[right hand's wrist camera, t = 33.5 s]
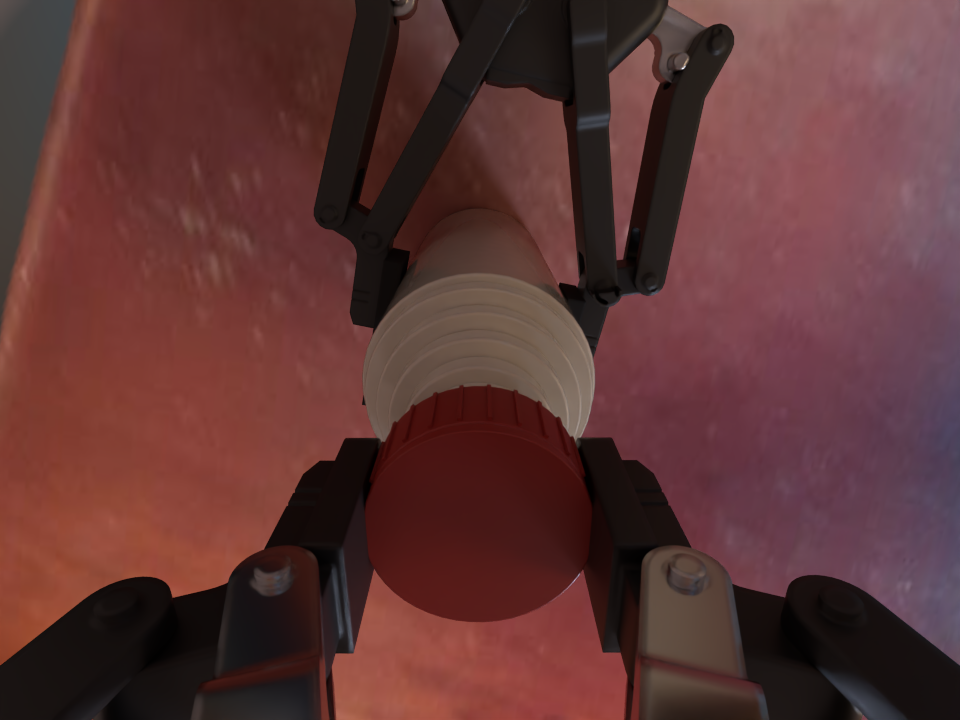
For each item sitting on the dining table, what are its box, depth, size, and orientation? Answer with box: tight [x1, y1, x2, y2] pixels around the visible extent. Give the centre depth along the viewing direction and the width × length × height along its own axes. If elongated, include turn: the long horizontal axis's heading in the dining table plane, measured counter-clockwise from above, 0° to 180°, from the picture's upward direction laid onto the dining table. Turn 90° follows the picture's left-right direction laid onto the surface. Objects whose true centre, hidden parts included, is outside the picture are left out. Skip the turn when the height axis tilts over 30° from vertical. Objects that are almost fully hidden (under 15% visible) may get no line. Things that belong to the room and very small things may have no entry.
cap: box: [364, 384, 592, 622], centre depth 11 cm, size 4×4×2 cm
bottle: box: [362, 208, 595, 442], centre depth 21 cm, size 7×7×21 cm
